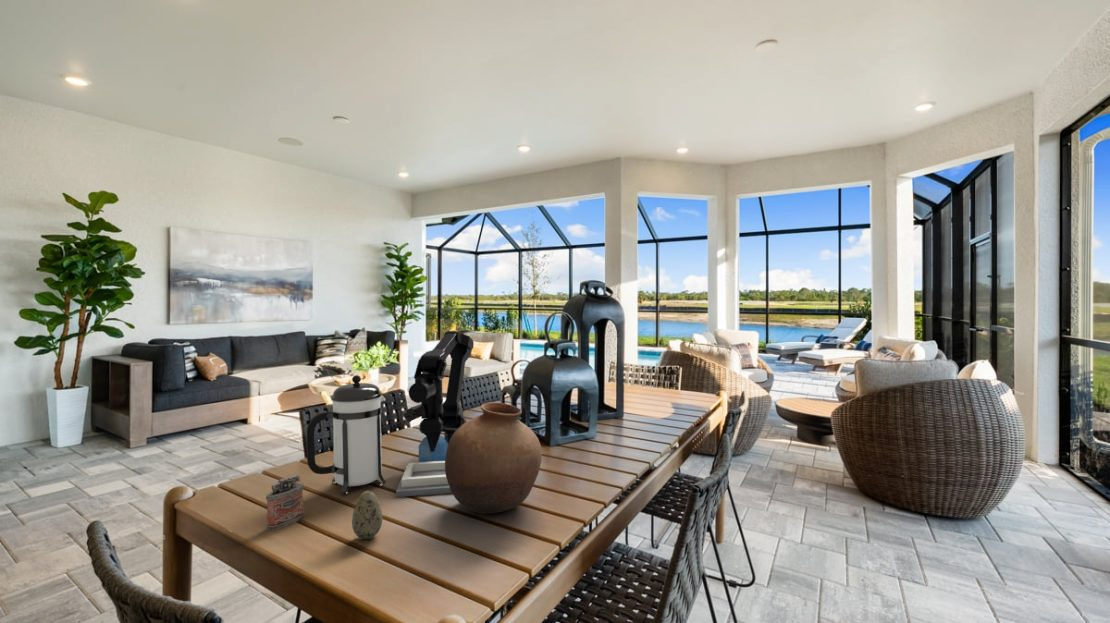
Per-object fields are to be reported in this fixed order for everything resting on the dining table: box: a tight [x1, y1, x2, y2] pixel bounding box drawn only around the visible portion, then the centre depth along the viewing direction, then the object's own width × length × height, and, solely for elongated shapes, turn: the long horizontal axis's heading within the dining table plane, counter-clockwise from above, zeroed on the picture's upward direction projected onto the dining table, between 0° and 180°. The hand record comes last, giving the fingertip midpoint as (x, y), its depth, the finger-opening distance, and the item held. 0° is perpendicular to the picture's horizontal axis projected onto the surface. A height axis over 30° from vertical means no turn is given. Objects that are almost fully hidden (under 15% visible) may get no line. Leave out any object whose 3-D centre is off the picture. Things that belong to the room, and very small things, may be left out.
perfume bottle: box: [418, 435, 448, 462], centre depth 147 cm, size 6×6×12 cm
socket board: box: [395, 461, 452, 498], centre depth 133 cm, size 18×15×4 cm
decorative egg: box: [351, 490, 383, 540], centre depth 102 cm, size 6×6×10 cm
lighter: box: [265, 474, 305, 531], centre depth 109 cm, size 8×3×10 cm, turn 148°
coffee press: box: [305, 374, 386, 495], centre depth 131 cm, size 17×16×30 cm
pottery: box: [445, 401, 543, 514], centre depth 116 cm, size 23×23×25 cm
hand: (433, 446), depth 147 cm, fingers open, 9 cm apart
